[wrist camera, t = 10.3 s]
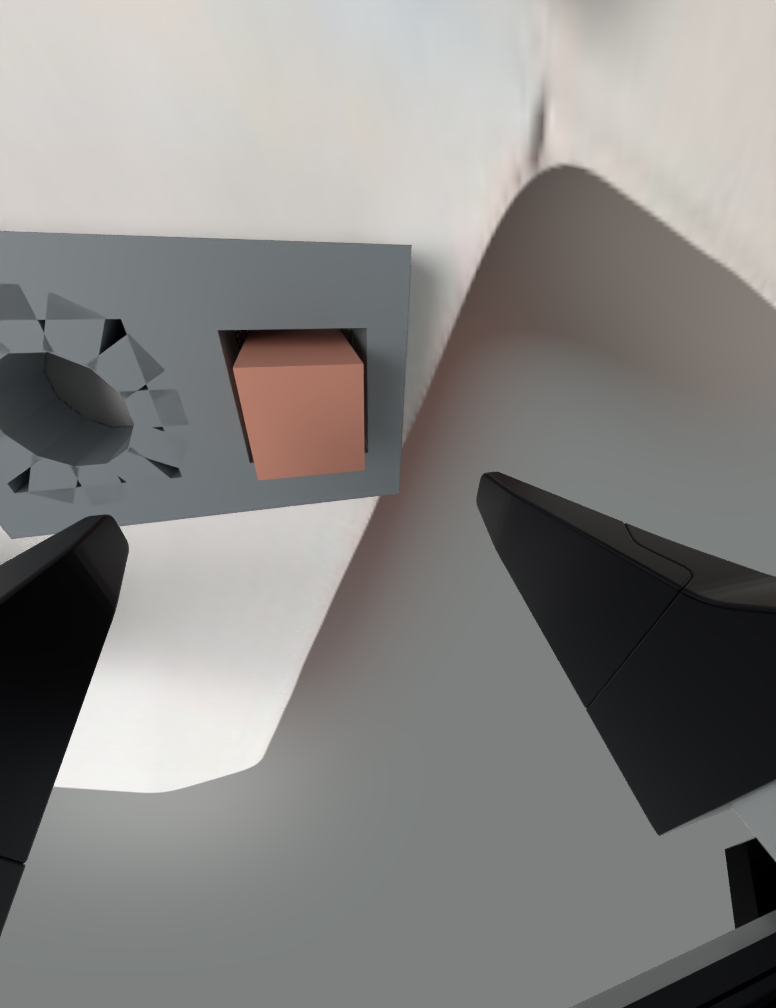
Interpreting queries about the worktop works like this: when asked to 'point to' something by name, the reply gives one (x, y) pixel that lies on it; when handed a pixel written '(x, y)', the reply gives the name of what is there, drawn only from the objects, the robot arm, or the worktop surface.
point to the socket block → (179, 370)
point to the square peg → (301, 402)
